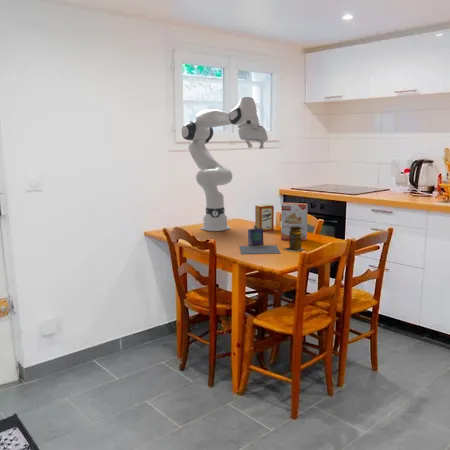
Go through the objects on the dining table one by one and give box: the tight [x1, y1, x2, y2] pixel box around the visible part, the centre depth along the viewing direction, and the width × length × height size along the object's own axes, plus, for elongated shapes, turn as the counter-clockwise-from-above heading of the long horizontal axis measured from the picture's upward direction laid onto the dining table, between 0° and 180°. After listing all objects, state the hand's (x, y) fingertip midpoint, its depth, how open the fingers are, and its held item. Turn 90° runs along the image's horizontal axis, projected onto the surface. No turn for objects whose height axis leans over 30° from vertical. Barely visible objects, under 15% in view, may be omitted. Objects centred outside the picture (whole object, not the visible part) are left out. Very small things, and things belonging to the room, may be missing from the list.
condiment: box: [283, 226, 305, 252], centre depth 246 cm, size 7×8×12 cm
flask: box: [247, 224, 264, 246], centre depth 257 cm, size 9×3×11 cm, turn 117°
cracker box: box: [280, 202, 309, 242], centre depth 269 cm, size 14×6×21 cm, turn 70°
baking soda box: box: [254, 204, 275, 232], centre depth 298 cm, size 10×6×16 cm
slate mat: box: [239, 244, 282, 255], centre depth 247 cm, size 17×20×1 cm
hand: (256, 147), depth 267 cm, fingers open, 8 cm apart
